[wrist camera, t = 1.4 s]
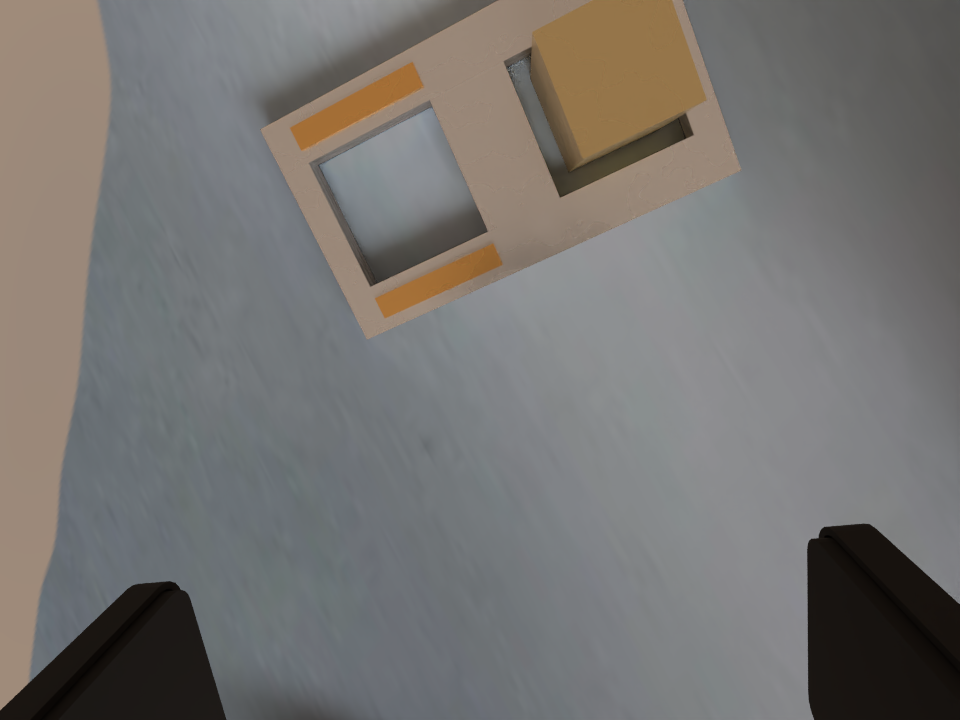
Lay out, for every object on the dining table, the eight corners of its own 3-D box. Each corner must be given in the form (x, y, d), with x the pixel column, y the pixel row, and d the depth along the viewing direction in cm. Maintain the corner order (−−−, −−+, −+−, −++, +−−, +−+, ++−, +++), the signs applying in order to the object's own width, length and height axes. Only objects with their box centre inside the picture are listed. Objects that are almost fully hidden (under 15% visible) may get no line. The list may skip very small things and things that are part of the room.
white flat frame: (646, -69, 27) (654, -87, 26) (730, 172, 30) (742, 170, 28) (272, 133, 31) (258, 129, 29) (373, 333, 33) (365, 340, 32)
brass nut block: (623, 31, 29) (659, -36, 21) (659, 129, 30) (706, 99, 22) (530, 78, 30) (532, 31, 22) (568, 172, 30) (583, 159, 23)
